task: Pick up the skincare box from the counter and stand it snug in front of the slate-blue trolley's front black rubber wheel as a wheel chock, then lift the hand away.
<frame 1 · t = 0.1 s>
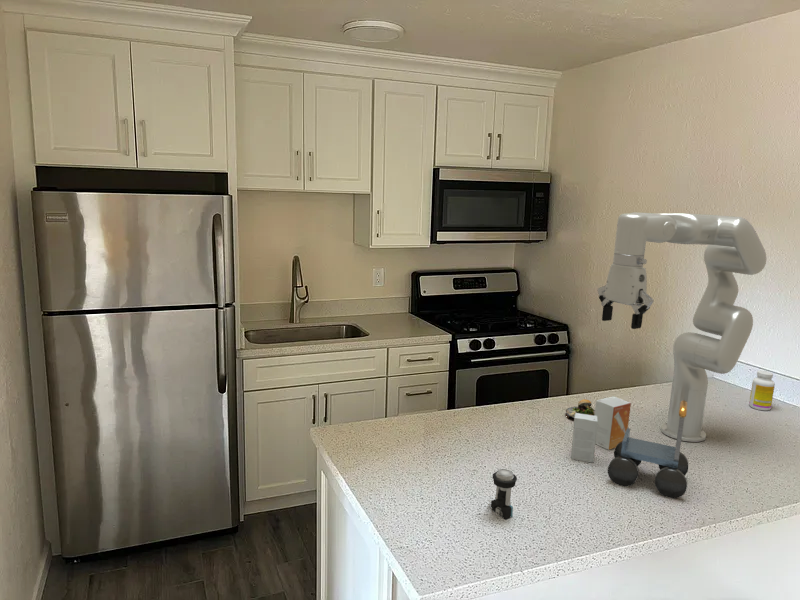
hand: (620, 324, 160), 37 cm above the counter, tool pointing down, fingers open, 9 cm apart
small box: (608, 444, 173), on the counter
trolley: (646, 480, 152), on the counter
skincare box: (582, 458, 163), on the counter
push button: (499, 513, 134), on the counter
supplement bottle: (759, 408, 208), on the counter
burger: (584, 418, 193), on the counter
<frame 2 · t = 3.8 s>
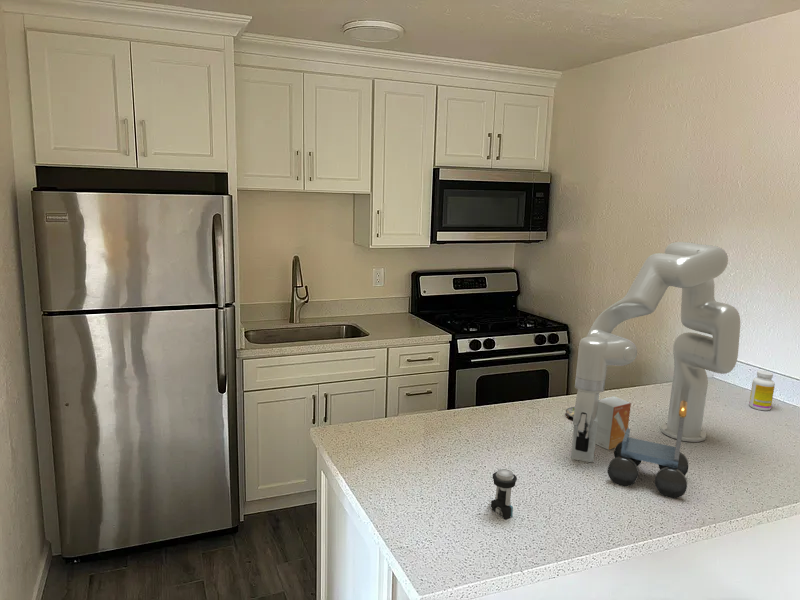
hand: (583, 446, 163), 3 cm above the counter, tool pointing down, fingers closed on skincare box, 4 cm apart
skincare box: (582, 458, 163), on the counter, touching gripper
everything else where it was.
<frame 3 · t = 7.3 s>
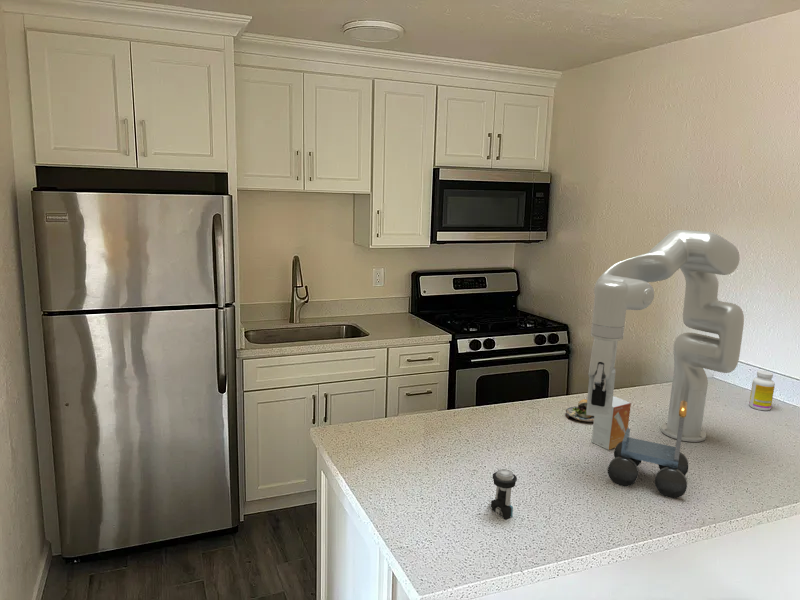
hand: (599, 401, 149), 20 cm above the counter, tool pointing down, fingers closed on skincare box, 4 cm apart
skincare box: (598, 414, 149), point 17 cm above the counter, touching gripper
everything else where it was.
when the fingers open (5 cm above the counter, at t = 10.8 s): skincare box drops 1 cm, on the counter.
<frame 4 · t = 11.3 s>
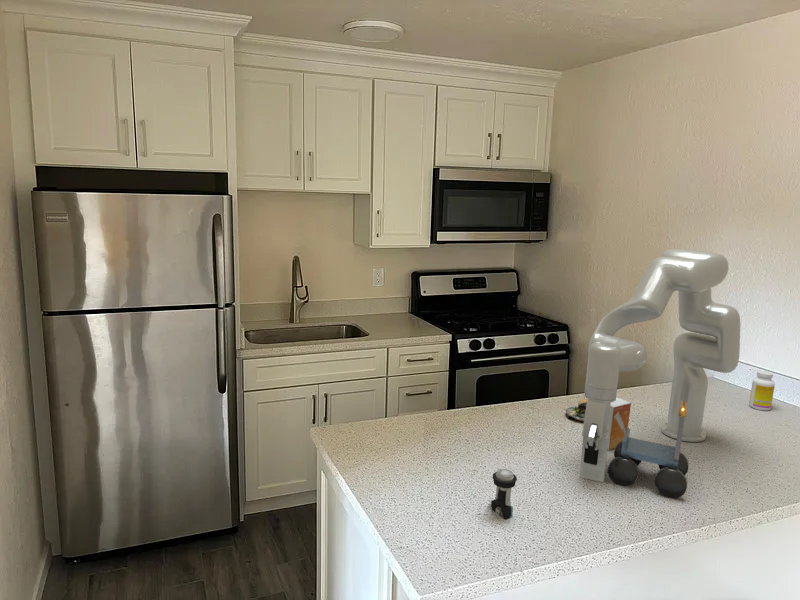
hand: (593, 455, 151), 6 cm above the counter, tool pointing down, fingers open, 9 cm apart
skincare box: (591, 477, 153), on the counter
everything else where it was.
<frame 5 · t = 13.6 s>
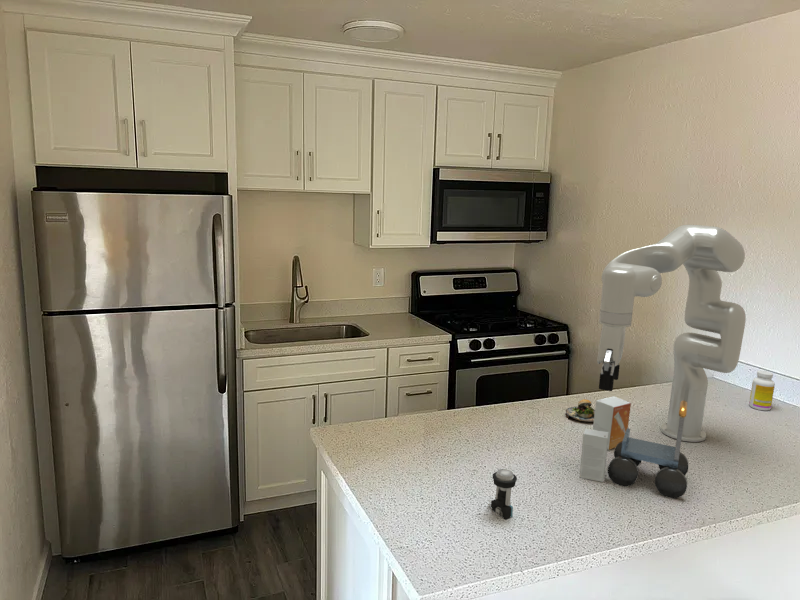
hand: (608, 384, 150), 24 cm above the counter, tool pointing down, fingers open, 9 cm apart
nothing on the counter moved.
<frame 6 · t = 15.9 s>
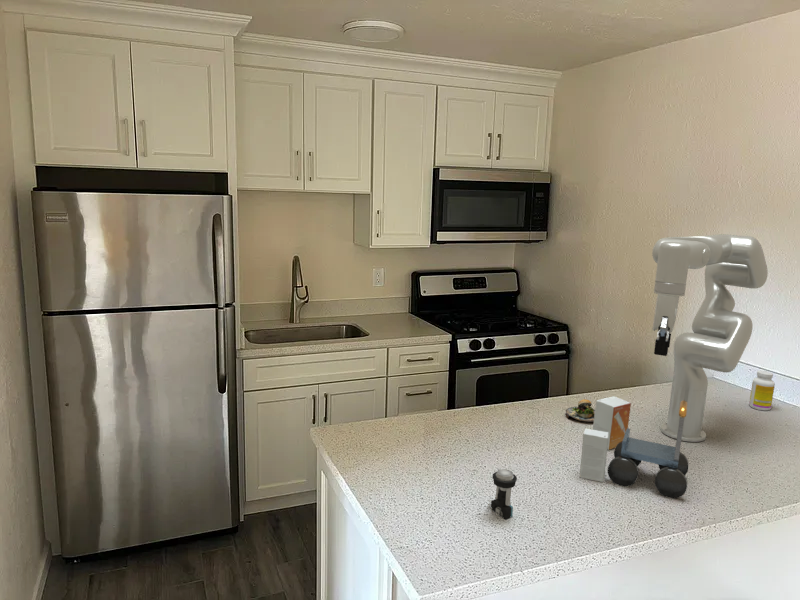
hand: (661, 350, 161), 30 cm above the counter, tool pointing down, fingers open, 9 cm apart
nothing on the counter moved.
at the end: skincare box 0.4 cm from the target spot on the counter beside the trolley, on the counter; skincare box tilted 0°; the gripper is holding nothing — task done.
